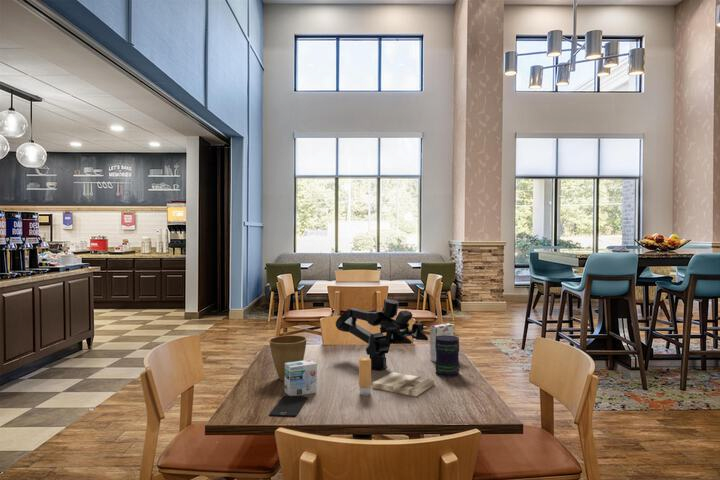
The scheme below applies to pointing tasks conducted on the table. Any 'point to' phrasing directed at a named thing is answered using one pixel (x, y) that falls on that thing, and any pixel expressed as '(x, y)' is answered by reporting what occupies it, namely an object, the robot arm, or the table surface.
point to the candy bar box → (439, 331)
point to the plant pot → (287, 351)
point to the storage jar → (447, 356)
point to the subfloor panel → (403, 384)
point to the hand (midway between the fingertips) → (419, 340)
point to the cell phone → (288, 406)
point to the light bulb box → (300, 377)
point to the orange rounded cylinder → (365, 376)
